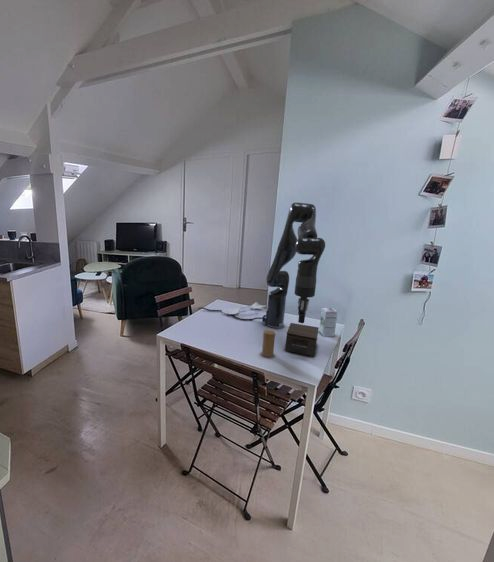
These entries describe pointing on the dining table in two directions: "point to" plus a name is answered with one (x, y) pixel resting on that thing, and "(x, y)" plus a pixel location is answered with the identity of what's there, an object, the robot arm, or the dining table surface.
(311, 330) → the cabinet
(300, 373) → the dining table surface
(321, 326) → the syrup box
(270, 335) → the tan wooden cylinder
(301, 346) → the drawer
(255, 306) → the spoon
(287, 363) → the dining table surface
